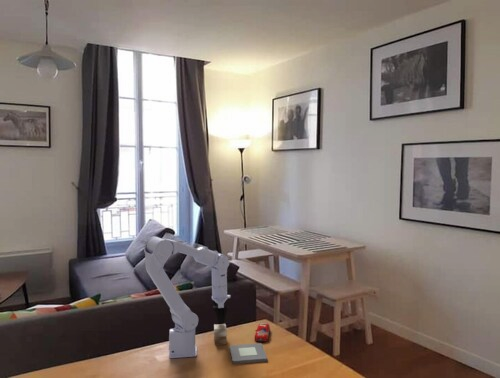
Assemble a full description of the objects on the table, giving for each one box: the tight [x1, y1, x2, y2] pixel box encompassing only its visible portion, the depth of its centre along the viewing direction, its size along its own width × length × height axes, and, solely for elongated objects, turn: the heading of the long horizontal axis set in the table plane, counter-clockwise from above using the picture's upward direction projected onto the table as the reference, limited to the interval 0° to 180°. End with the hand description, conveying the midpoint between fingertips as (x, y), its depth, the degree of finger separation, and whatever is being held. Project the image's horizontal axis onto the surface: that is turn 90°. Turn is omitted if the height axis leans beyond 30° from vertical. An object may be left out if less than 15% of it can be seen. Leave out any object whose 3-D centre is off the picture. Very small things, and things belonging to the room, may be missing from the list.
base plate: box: [229, 342, 268, 365], centre depth 138 cm, size 12×12×1 cm
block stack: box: [213, 323, 228, 346], centre depth 149 cm, size 4×4×6 cm
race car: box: [254, 322, 271, 343], centre depth 154 cm, size 13×5×4 cm, turn 170°
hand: (220, 319), depth 148 cm, fingers open, 7 cm apart
